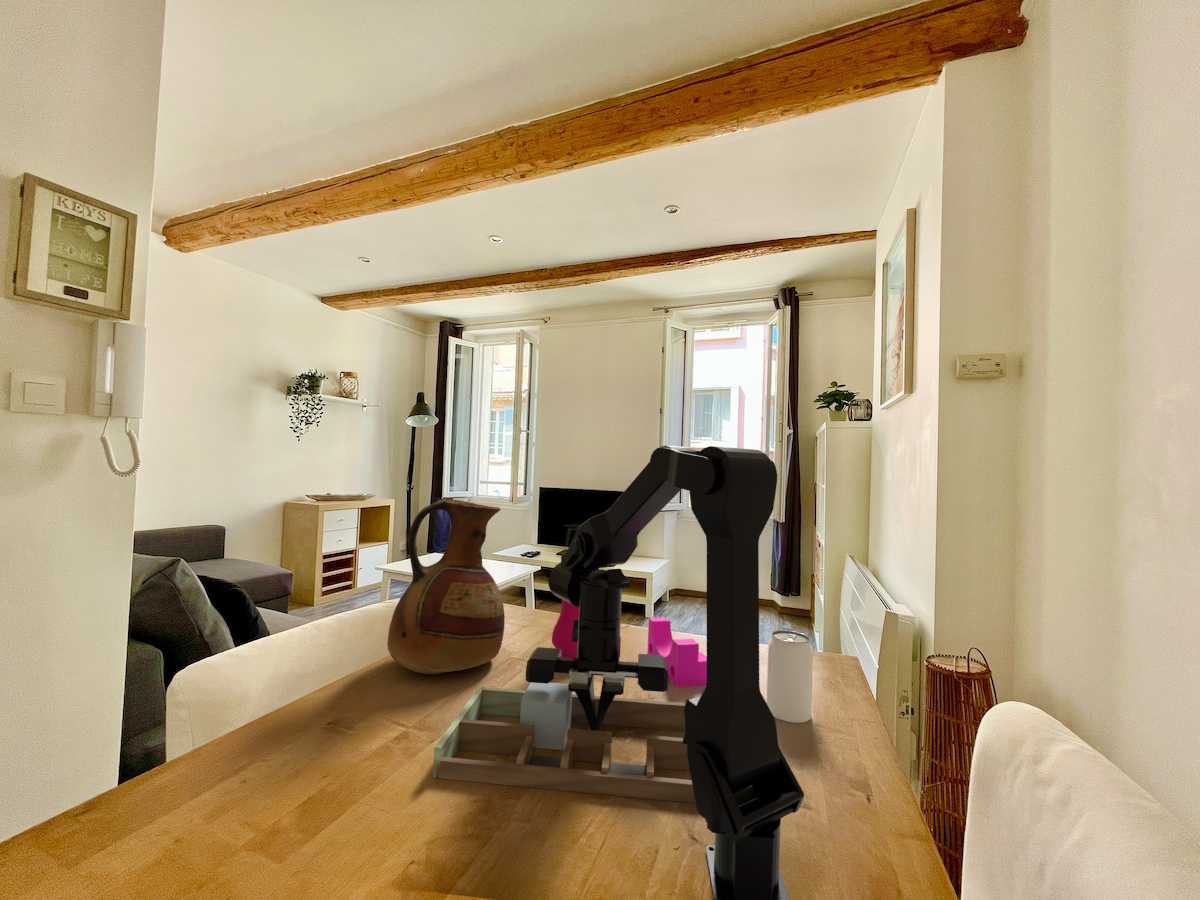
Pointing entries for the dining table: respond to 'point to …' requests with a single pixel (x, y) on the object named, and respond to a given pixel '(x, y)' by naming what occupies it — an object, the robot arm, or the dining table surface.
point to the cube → (547, 713)
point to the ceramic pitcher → (449, 599)
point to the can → (790, 676)
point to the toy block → (677, 654)
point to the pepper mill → (566, 630)
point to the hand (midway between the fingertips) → (595, 732)
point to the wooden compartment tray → (566, 749)
